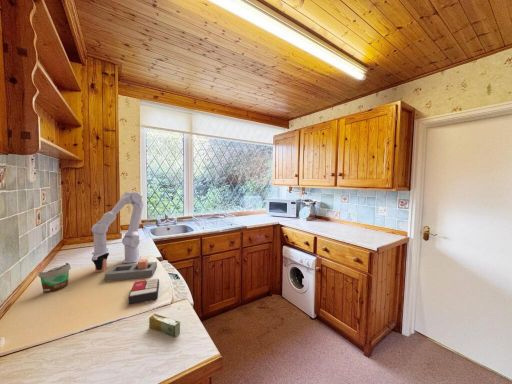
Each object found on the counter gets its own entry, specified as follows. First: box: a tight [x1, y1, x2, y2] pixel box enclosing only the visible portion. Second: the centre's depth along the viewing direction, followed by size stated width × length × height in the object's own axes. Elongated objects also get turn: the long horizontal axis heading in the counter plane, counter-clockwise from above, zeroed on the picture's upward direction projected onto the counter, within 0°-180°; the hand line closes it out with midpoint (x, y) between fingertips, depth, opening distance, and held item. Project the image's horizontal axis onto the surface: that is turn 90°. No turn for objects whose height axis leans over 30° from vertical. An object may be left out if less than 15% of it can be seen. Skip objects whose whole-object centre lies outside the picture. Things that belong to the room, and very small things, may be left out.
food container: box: [38, 262, 72, 294], centre depth 102 cm, size 12×6×10 cm, turn 168°
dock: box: [104, 258, 158, 282], centre depth 117 cm, size 12×22×7 cm, turn 104°
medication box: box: [148, 313, 181, 338], centre depth 74 cm, size 12×3×4 cm, turn 67°
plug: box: [94, 259, 108, 273], centre depth 122 cm, size 4×4×6 cm
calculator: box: [127, 278, 160, 306], centre depth 98 cm, size 11×4×15 cm
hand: (101, 267), depth 122 cm, fingers closed on plug, 4 cm apart
